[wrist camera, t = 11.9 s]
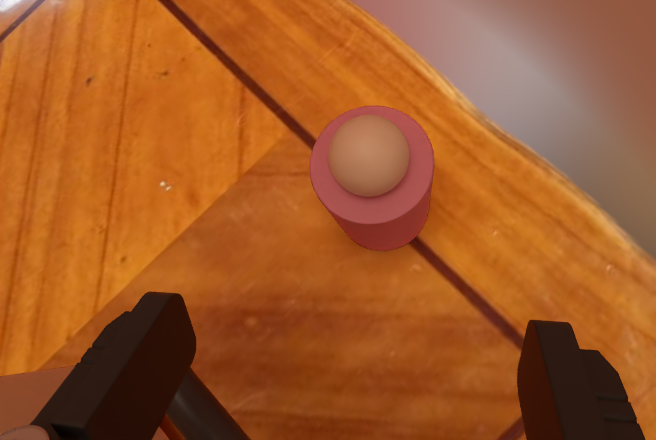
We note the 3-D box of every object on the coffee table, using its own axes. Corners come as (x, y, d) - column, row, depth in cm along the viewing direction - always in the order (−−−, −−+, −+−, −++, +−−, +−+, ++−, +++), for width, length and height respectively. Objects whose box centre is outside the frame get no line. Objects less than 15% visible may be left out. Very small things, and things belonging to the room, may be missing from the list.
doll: (448, 202, 21) (468, 133, 13) (384, 270, 21) (367, 241, 13) (380, 145, 22) (361, 50, 14) (319, 209, 22) (267, 148, 14)
